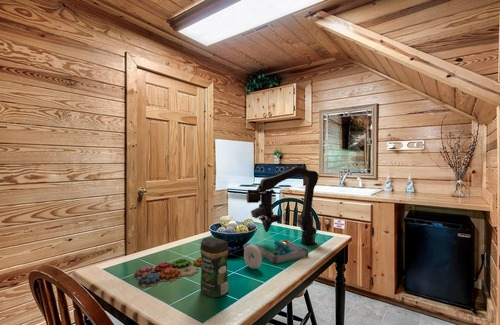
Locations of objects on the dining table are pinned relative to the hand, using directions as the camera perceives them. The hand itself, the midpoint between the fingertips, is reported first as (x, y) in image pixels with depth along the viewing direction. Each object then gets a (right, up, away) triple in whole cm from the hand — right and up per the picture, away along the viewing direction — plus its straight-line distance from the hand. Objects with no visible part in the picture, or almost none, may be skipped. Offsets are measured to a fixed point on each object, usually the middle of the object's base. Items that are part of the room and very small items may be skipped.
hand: (266, 231), depth 138 cm
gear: (+7, -8, -13) cm, 17 cm away
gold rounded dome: (+10, -7, +1) cm, 13 cm away
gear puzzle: (-38, -9, -30) cm, 50 cm away
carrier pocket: (+6, -8, -11) cm, 15 cm away
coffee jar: (-21, -8, -47) cm, 52 cm away
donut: (-7, -8, -28) cm, 30 cm away
